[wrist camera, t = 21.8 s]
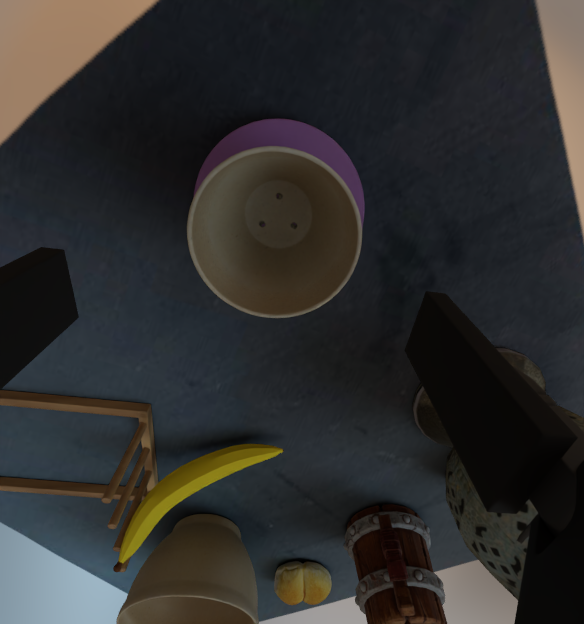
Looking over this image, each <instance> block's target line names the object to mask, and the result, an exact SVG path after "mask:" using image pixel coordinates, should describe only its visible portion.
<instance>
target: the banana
mask: <svg viewBox="0 0 584 624" xmlns="http://www.w3.org/2000/svg"><path fill="white" fill-rule="evenodd" d="M283 451H284V450H283V449H281V448H277V447H275V446H270V445H263V444H241V445H234V446H231V447H227V448H224V449H221V450H218V451H215V452H212V453H209V454H206V455H204V456H202V457H199V458H197V459H195V460H192V461H191V462H189V463H187V464H185V465H183V466H181V467H179V468H178V469H176V470H175V471H173V472H172V473H170V474H169V475H167V476H166V477H165V478H164V479H162V480H161V481H160V482H159V483H158V484H157V485H156V486H155V487H154V488H153V489H152V490H151V491H150V492H149V493H148V494H147V495H146V497H145V498H144V500H143V501H142V502H141V504H140V505H139V507H138V508H137V510H136V512H135V514H134V515H133V517H132V519H131V522H130V524H129V526H128V528H127V531H126V533H125V536H124V539H123V542H122V545H121V550H120V555H119V561H118V563H117V564H116V565H115V566H114V568H113V569H114V571H115V572H119V571H120V570H121V566H122V564H123V563H124V562H125V561H126V560H127V559H128V558H129V557H130V556H131V555H133V554H134V552H135V551H136V550H137V549H138V548H139V547H140V545H141V544H142V543H143V541H144V540H145V539H146V537H147V536H148V535H149V533H150V532H151V531H152V529H153V528H154V527H155V525H156V524H157V523H158V522H159V520H160V519H161V518H162V517H163V516H164V515H165V514H166V513H167V512H168V511H169V510H170V509H171V508H173V507H174V506H175V505H176V504H178V503H179V502H181V501H182V500H184V499H185V498H187V497H188V496H190V495H191V494H193V493H195V492H197V491H198V490H200V489H202V488H203V487H205V486H207V485H209V484H211V483H213V482H215V481H217V480H219V479H221V478H223V477H225V476H228V475H230V474H232V473H234V472H236V471H239V470H241V469H243V468H245V467H248V466H250V465H253V464H256V463H258V462H261V461H264V460H267V459H269V458H272V457H275V456H277V455H278V454H279V453H282V452H283Z"/></svg>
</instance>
